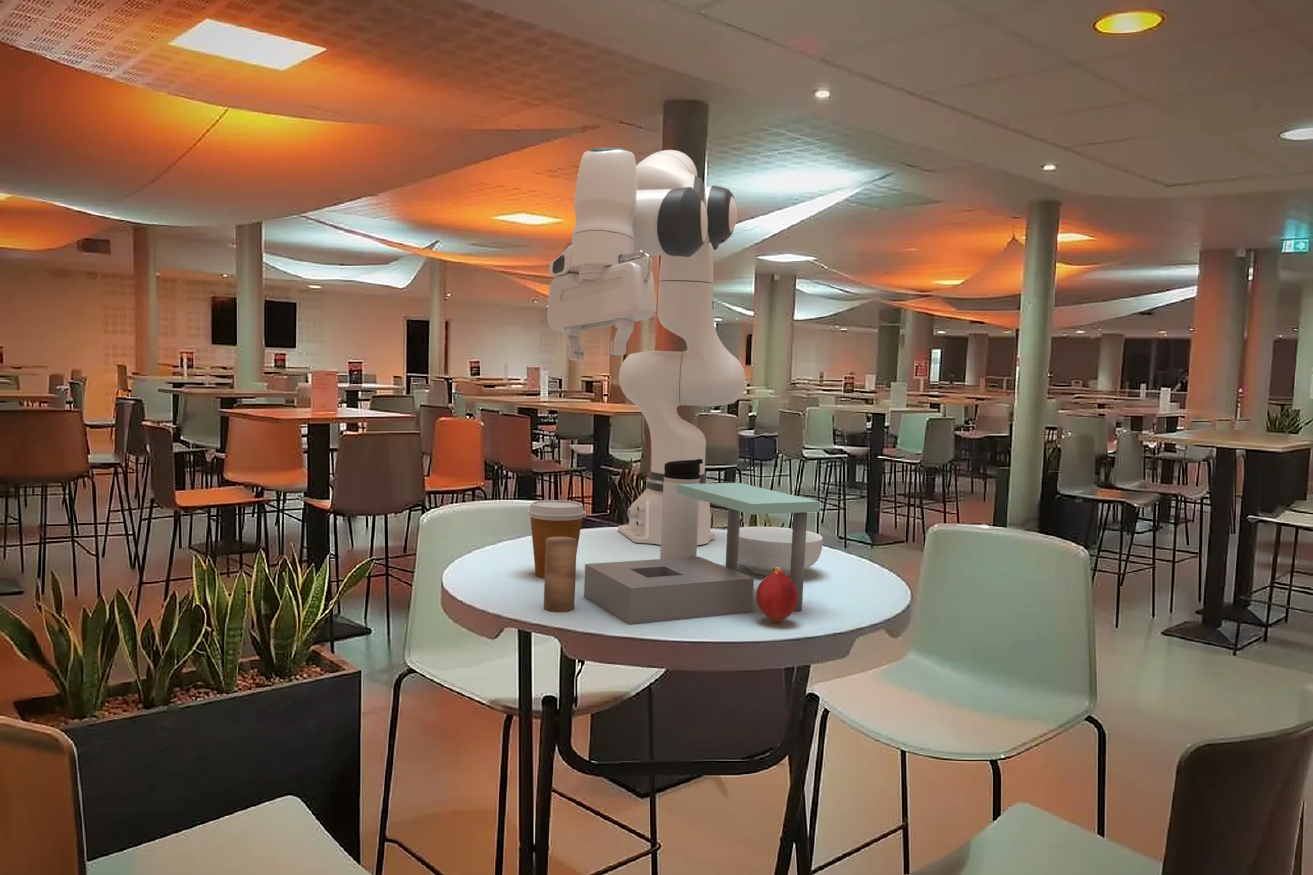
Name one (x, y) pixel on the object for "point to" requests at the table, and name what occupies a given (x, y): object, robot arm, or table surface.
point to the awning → (758, 503)
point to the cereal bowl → (773, 549)
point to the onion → (777, 596)
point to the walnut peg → (560, 574)
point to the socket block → (667, 589)
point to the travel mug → (679, 510)
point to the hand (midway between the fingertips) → (596, 357)
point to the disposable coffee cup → (553, 526)
